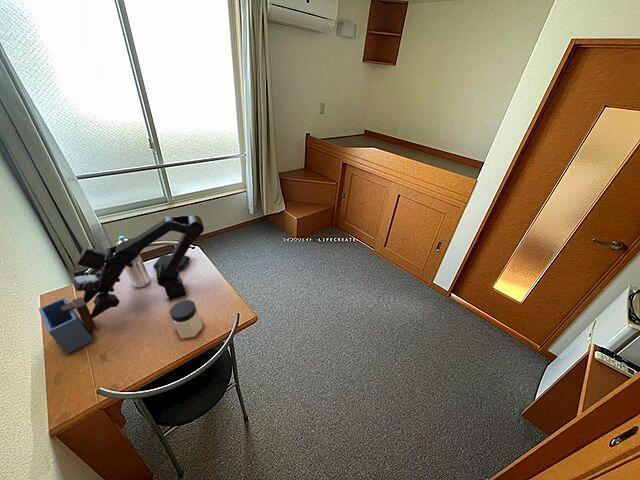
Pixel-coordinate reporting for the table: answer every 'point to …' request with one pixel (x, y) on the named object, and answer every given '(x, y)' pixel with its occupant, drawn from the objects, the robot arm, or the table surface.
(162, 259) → the carrying case
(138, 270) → the water bottle
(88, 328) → the hook tag
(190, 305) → the jar
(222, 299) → the table surface
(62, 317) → the storage box
